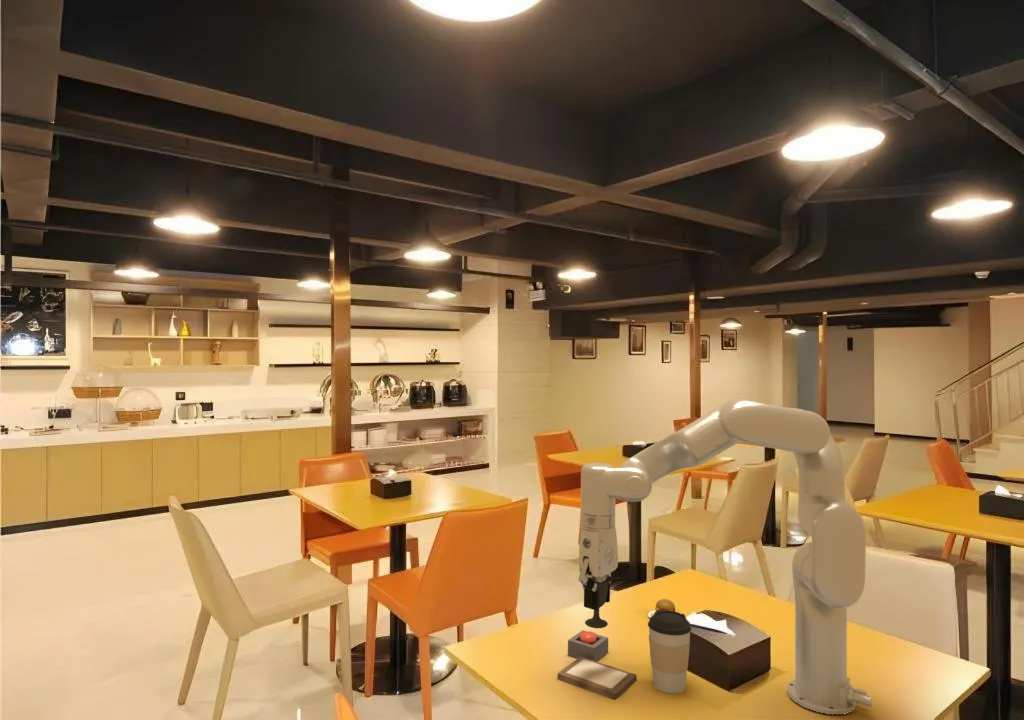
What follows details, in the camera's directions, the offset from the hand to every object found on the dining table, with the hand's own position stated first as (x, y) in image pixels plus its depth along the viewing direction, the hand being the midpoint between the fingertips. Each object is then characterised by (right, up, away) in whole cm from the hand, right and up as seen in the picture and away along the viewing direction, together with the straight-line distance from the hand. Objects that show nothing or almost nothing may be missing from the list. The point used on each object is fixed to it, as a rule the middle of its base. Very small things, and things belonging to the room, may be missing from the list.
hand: (597, 603), depth 133 cm
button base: (0, -17, +12) cm, 20 cm away
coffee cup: (+15, -17, -2) cm, 23 cm away
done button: (0, -14, +12) cm, 18 cm away
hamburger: (+23, -18, +34) cm, 45 cm away
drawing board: (0, -16, 0) cm, 16 cm away
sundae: (0, -5, 0) cm, 5 cm away
